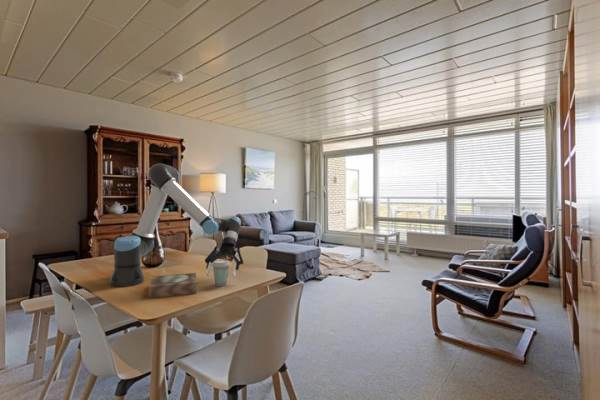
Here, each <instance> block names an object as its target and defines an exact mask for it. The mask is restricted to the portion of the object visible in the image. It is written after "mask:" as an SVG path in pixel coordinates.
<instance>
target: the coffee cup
mask: <svg viewBox="0 0 600 400" xmlns="http://www.w3.org/2000/svg"><path fill="white" fill-rule="evenodd" d="M230 266H231V263H230V261H229V260H228V259H217V260H216V261H214V262H213V263H212V269H213V277H214V286H215V287H224V286H228V285H227V284H228V278H229V271H230V270H229V268H230Z"/></svg>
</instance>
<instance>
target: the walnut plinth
mask: <svg viewBox="0 0 600 400" xmlns="http://www.w3.org/2000/svg"><path fill="white" fill-rule="evenodd" d="M197 293H198V281H197V272H190V273H180V274H179V273H177V274H164V275H154V276H152V278H151V281H150V284H149V286H148V298H149V299H152V298H153V299H154V298H162V297H173V296H182V295H191V294H197Z"/></svg>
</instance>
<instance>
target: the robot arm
mask: <svg viewBox="0 0 600 400" xmlns="http://www.w3.org/2000/svg"><path fill="white" fill-rule="evenodd" d="M147 174H148V179H149V180H150V181H151V182H150V186H151V191H150V193H149V196H148V197H147V198H148V199H147V201H146V203H145V207H144V210H143V212H142V214H141V217H140V219H139V222H138V225H137V228H135V229H133V230H132V232H131V234H130V235H125V236H120V237H118V238H116V239H115V240H114V243H113V244H114V245H113V253H114V254H113V255H114V257H113V259H114V264H113V265H114V269H113V272H112V274H111V277H110V281H109V285H110V286H112V287H121V288H123V287H128V286H129V287H130V286H135V285H140V284H141V283H143V282H145V276H144V272H143V271H142V268H141V258H142V257H144V256H147V255H149V254H150V252H152V251H153V249H154V247H155V241H154V239H155V238H156V235H155V234H154V232H155V230H156V227H157V223H158V221H159V219H160V216H161V214H162V210H163V208H164V205H165V203H166V200H167V198H168V196H169V197H170V198H171V199H172V200H173V201H174V202H175V203H176V204H177V205H178V206H179V207H180V208H181V209H182V210H183V211H185V212H186V214H187V215H188V216H189V217H190V218H192V219H193V220H194V222H196V223H197V224H198V225H199V226H200V227H201V229H202V231H203V232H204V233H205V234H206V235H214V234H217V232H218V233H219V232H220V233H224V234H223V238H222V240H221V241H222V242H221V246H220V247H218V246H214V248H213V250H212V251H211V252H210V253H209V255H207V256H206V257H205V259H204V262H205V264H206V266H205V268H206V272H205V274H206V276H207V277H209V276H210V273H211V271H212V268H213V262H214V261H216V260H219V258H222V257H230V256H231V258H233V260H234V261H235V262H234V266H233V269H232V276H233V278H234V277H236V274H237V271H239V269H240V266H241V265H244V260H243V257H242V254H241V248H240V247H239V246H238V247H236V245H237V241H238V238H239V233H240V229H241V225H242V219H241V218H239V217H238V216H235V215H234V216H230V217H229V218H228V219H224V218H218V217H214V216H212V215H211V214H210V213H209V212H208V211H207V210H206V209H205V208H204V207H203V206H201V204H200V203H198V202H197V200H195V198H193V197H192V196H191V194H189V193H188V192H187V191H186V190H185V189H184V188H183V186H181V185H180V184H179V180H180V173H179V172H178V170H177V168H175V167H174V166H171V165H168V164H165V163H156V164H153V165H152V166H151V167H150V168H149V170H148V172H147ZM234 252H236V253H237V256H238V258H239V260H238V258H237V256H236V255H235V253H234Z"/></svg>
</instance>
